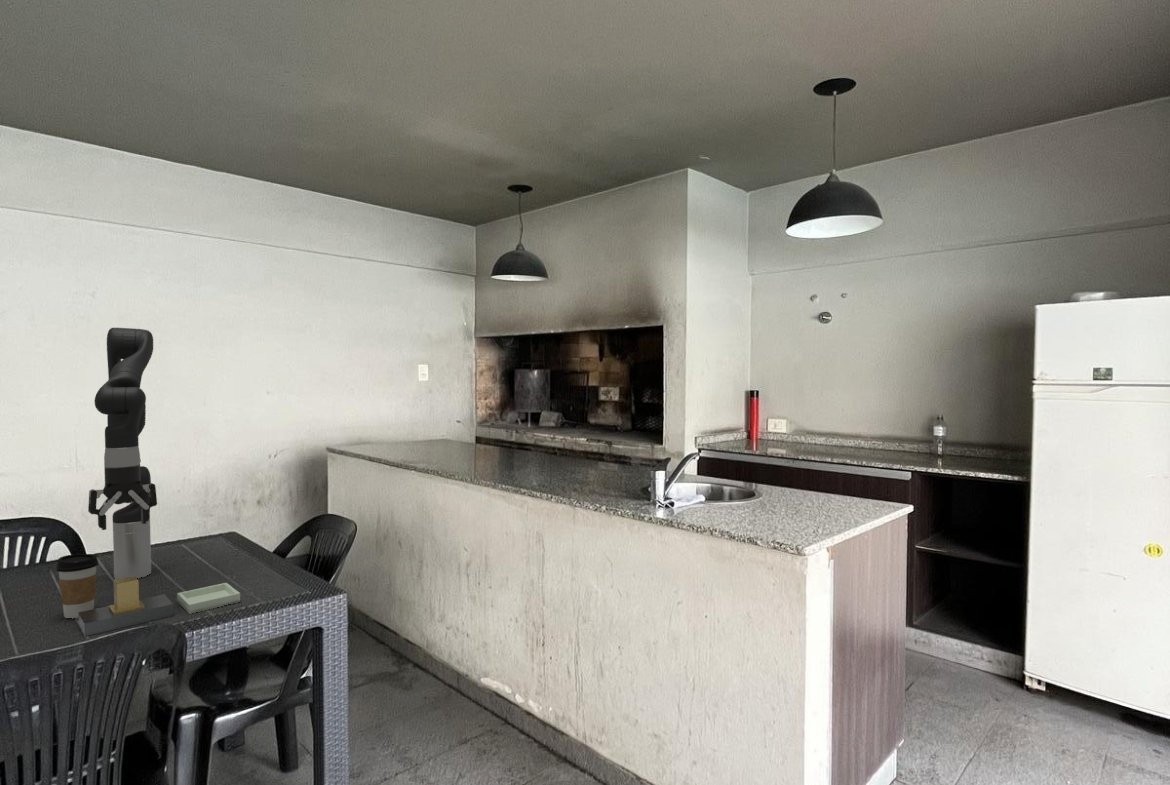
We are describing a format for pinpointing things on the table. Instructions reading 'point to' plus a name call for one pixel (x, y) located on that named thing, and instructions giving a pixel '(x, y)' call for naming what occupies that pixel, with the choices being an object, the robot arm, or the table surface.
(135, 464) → the robot arm
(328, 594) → the table surface
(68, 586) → the coffee cup
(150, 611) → the grey metal block
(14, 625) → the table surface
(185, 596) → the parts tray
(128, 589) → the brass plug
